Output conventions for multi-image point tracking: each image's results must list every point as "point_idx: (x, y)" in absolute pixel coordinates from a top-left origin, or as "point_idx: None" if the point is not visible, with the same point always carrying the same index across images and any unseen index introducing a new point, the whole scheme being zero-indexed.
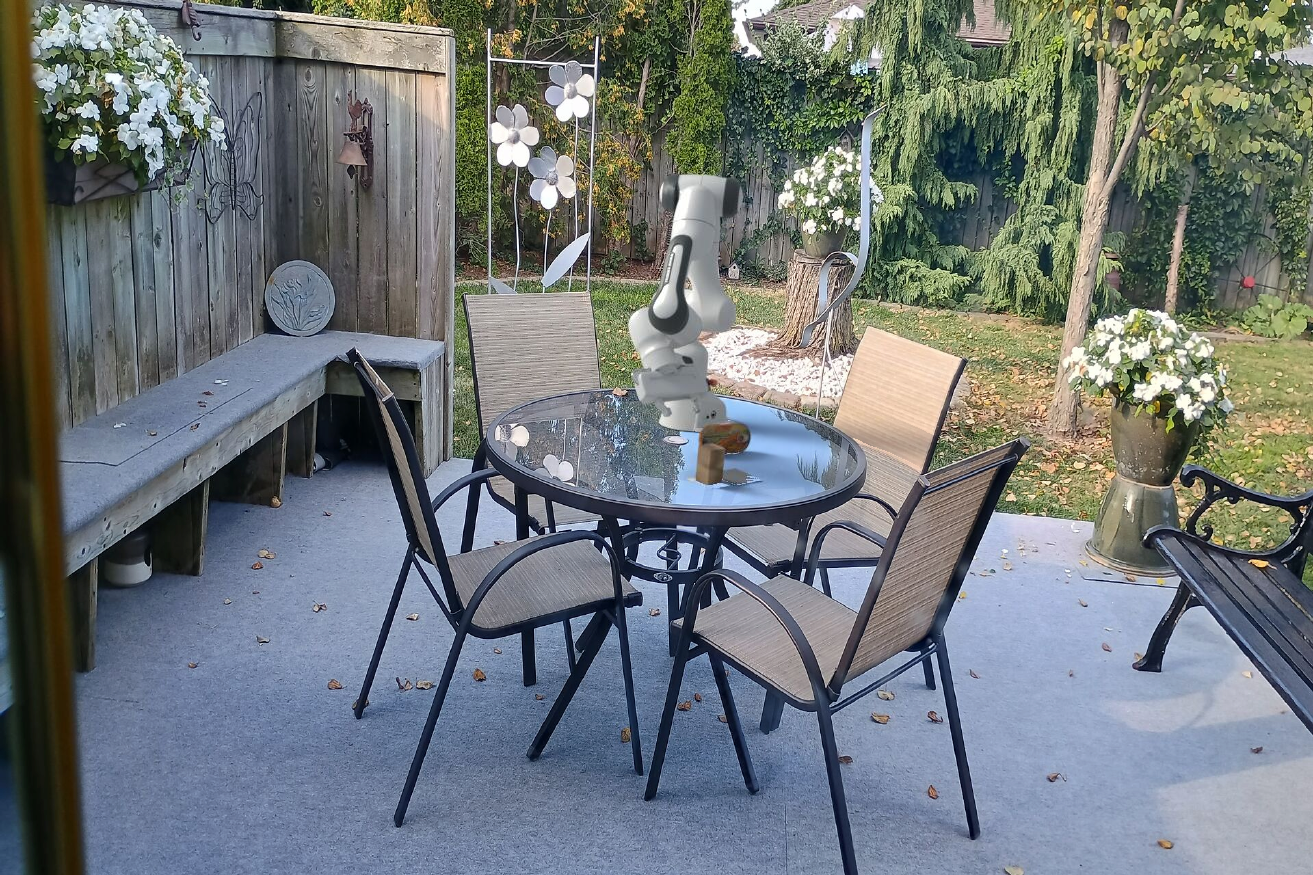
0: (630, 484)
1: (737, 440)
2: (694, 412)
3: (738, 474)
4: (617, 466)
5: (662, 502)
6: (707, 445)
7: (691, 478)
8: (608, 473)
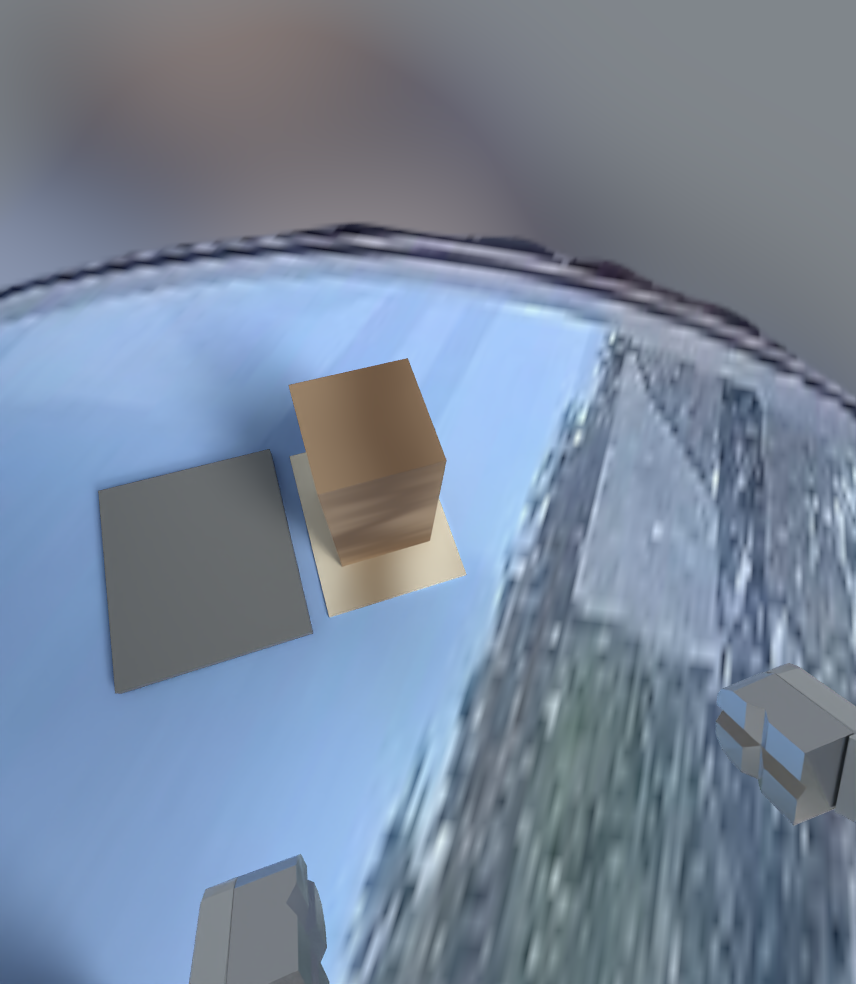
0: (741, 541)
1: None
2: (318, 908)
3: (168, 582)
4: (798, 856)
5: (637, 341)
6: (381, 453)
7: (435, 579)
8: None
